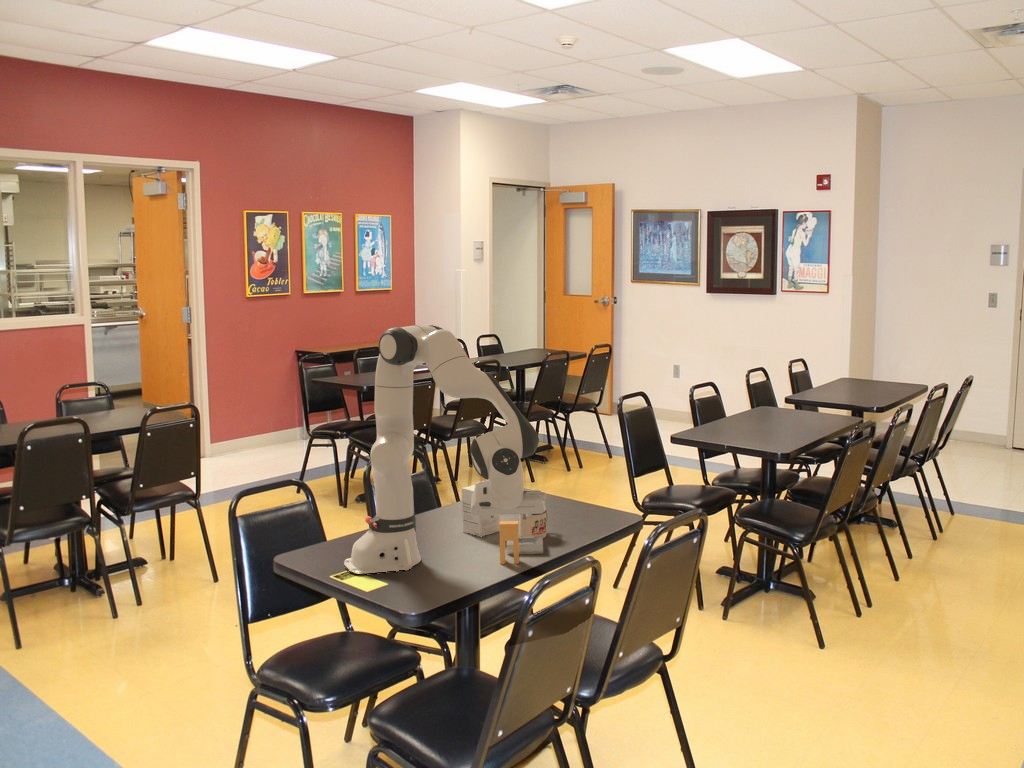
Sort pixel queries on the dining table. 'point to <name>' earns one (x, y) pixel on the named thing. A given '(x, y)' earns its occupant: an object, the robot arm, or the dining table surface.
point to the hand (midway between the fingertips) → (508, 517)
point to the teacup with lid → (533, 525)
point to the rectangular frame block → (527, 545)
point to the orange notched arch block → (509, 539)
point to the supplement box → (476, 517)
